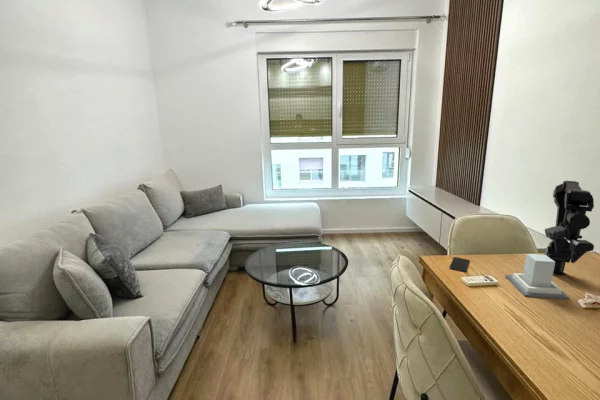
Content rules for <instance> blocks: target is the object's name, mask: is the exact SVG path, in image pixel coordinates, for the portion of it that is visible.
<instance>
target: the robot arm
mask: <svg viewBox="0 0 600 400" xmlns="http://www.w3.org/2000/svg"><path fill="white" fill-rule="evenodd" d="M552 197H553V199H554V201H553V203H554V204H555V205H556V208H557V212H556V217H555V218H556V219H555V226H551V227H548V228H544V233H545V237H546V238H548V239H550V240H551V241H549V243H548V245H547V246H546V248H545V249H544V254H543V255H546V256H548V257H549V258H550V259H552V260H553V261H555V266H554V271H553V275H563V276H566V275H567V273H566V272H564V271H565V267H566V263H567V264H568V263H569V264H570V263H571V264H574V263H576V262H577V261H578V260H579V259H580V258H581V257H582V256H584V255H585V254H586V253H588V252H592V251H594V249H595V245H594V243H592V242H591V241H588V240H587V239H583V235H581V232H582V230H585V229H587V228H588V227H589V226H590V224H591V219H590V218H589V217H588V216H587V212H590V213H591V212H592V211H593V209H594V207H595V206H594V205H595V204H594V202H595V201H594V197H593V195H592V194H591V192H590V191H589V190H584V189H582V188H581V187H580V183H579V182H578V181H575V180H563V182H562V183H561V184H558V185H556V186H555V188H554V190H553V193H552Z"/></svg>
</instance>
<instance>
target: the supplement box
mask: <svg viewBox="0 0 600 400" xmlns="http://www.w3.org/2000/svg"><path fill="white" fill-rule="evenodd" d="M554 266H555V261H553V260H552V259H550V258H549V257H548V256H546V255H544V254H539V253H538V254H535V253H526V258H525V261H524V266H523V267H524V268H523V273H522V274H523V277H522V280H523V281H524V282H526V283H527V284H528V285H529V286H530V287H545V288H550V286H551V281H552V280H553V275H554V274H553V271H554ZM552 282H553V281H552Z"/></svg>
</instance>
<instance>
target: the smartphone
mask: <svg viewBox="0 0 600 400" xmlns="http://www.w3.org/2000/svg"><path fill="white" fill-rule="evenodd" d="M470 261H471V260H470V259H466V258H463V257H462V258H461V257H458V256H457V257H456V256H454V257H453V258H452V261H451V262H450V266H449V267H448V268H449V270H452V271H458V272H461V273H467V272H468V268H469V265H470V263H471V262H470Z"/></svg>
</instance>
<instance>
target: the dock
mask: <svg viewBox="0 0 600 400" xmlns="http://www.w3.org/2000/svg"><path fill="white" fill-rule="evenodd" d="M504 277H505V278H506V279H507V280H508V281H509V282H510V283H511V284H512V285H513V286H514V287H515V288H516V289H517V291H519V292H520V293H521V295H522V296H524V297H532V298H546V299H561V300H569V299H570V296H569V295H567V294H566V293H565V292H564V291H563V289H562V288H561V287H560V286H559V285H557V284H556V283H555V282H553V281H551V286H550V288H545V287H530V286H529V285H528V284H527V283H526V282H524V281H523V280H522V277H523V273H517V272H514V273H512V274H510V275H509V274H508V275H507V274H505V276H504Z"/></svg>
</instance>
